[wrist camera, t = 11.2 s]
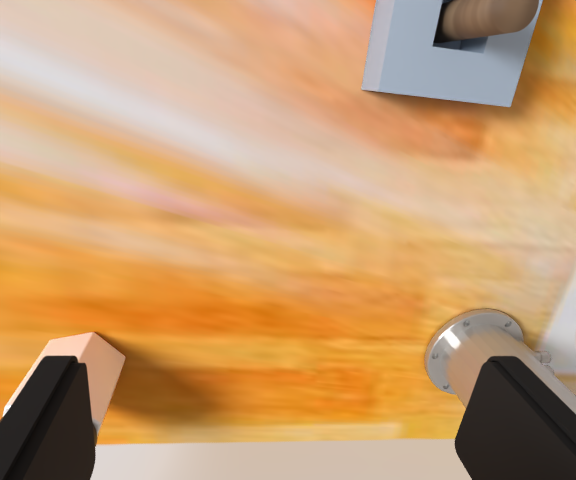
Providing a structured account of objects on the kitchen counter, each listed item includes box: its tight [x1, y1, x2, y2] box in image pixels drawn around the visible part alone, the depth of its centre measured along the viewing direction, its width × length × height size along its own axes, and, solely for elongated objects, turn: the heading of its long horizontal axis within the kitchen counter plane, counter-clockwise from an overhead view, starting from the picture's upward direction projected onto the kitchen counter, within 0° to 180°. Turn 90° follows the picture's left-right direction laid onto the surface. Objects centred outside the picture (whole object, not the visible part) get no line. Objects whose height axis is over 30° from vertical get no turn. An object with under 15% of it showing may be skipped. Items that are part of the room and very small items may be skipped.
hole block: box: [361, 0, 543, 107], centre depth 33 cm, size 12×12×4 cm
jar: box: [0, 332, 126, 446], centre depth 38 cm, size 9×8×12 cm
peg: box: [433, 0, 539, 43], centre depth 30 cm, size 3×3×10 cm
